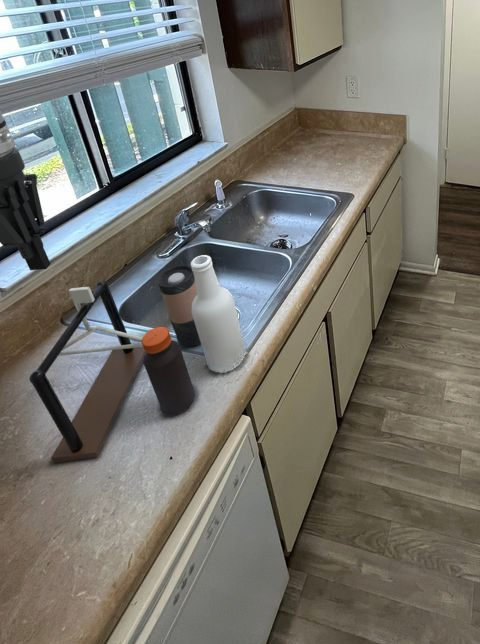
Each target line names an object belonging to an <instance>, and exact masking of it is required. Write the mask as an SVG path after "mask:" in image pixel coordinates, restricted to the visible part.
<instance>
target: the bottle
mask: <svg viewBox="0 0 480 644" xmlns="http://www.w3.org/2000/svg"><path fill="white" fill-rule="evenodd" d="M142 337H143V338H142V341H140V343H142V345H143V348H144V350H145V352H146V353H145V356H144V358H143V363H142V365H143V366H144V368H145V371H146V373H147V376H148V378H149V381H150V385H151V387H152V389H153V392H154V394H155V397H156V400H157V401H158V404H159V407H160V409H161V412H162V413H164V414H165V415H166V416H178V415H179V414H182V413H184V412H185V411H187V410H188V409H189V408H190V407H191V406H192V404H193V403H194V402H195V399H196V391H195V388H194V384H193V382H192V380H191V376H190V372H189V369H188V367H187V364H186V361H185V357H184V355H183V352H182V348H181V345H180V344H179V342H177V341H175V340H172V336H171V333H170V330H169V328H167V327H166V326H157V327H154V328H152V329H150V330H148V331H146V332H145V334H144V335H143V336H142Z"/></svg>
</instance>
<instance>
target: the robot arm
mask: <svg viewBox="0 0 480 644" xmlns="http://www.w3.org/2000/svg"><path fill="white" fill-rule="evenodd" d="M15 146H16V142H15V140H14V138H13V136H12V133H11V131H10V129H9V127H8V124H7V122H6V118H4V115H3V113H2V111H1V110H0V244H1V246H2V247H4V248H13V247H14V248H17V250H18V252H19V254H20V256H21V258H22V259H24V260H25V263H26V265H27V268H28V269H29V270H30V271H40V270H47V269H48V268H49V267H50V265H51V261H50V259H49V257H48V255H47V252H46V250H45V248H44V243H43V240H42V238H41V235H43V234H44V233H45V228H41V227H43V226H44V225H45V224H46V222H45V217H44V213H43V208H42V204H41V200H40V196H39V195H40V194H39V190H38V187H37V186H38V176H37V173H24V170H25V166H26V165H25V161H24V159H23V158H22V155H21V152H20V151H19V149H18V148H16V147H15Z"/></svg>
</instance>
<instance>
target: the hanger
mask: <svg viewBox="0 0 480 644" xmlns="http://www.w3.org/2000/svg"><path fill="white" fill-rule="evenodd" d="M92 292H93V291H92V290H91V288H90V286H82V287H81V286H80V287H71V288H70V289H69V290H68V293H69V295H70V297H71V299H72V301H73V304H74V306H75V309H76V311H77V313H78V312H79V310H80V309H81V308H82V305H81V304H84V303H91V302H94V300H95V299H94V297H93V294H92ZM81 323H82V324H83V326H84V328H85V330H86V331H85V332H83V333H81V334H80V335H79V336H77V337H75V338H74V339H72V340H69V341H68V342H67V344H66V345H65V347H64V348H63V350H62V351H61V352H60V354H59V355H58V357H61V356H63V357H64V356H71V355H80V354H90V353H91V354H92V353H99V352H100V353H101V352H108V351H112V350H118V349H127V348H137V347H143V345H142V342H141V341H142V338H143V336H139V335H135V334H132V333H128V332H127V333H123V332H120V331H116V330H114V329H111V328H107V327H103V326H99V325H91V324H90V322H89V321H88V319H87V316H85V318H84V319H83V321H82V322H81ZM95 331H99V332H103V333H106V334H110V335H115V336H117V335H118V336H122V337H126V338H129V339H131V340H135V341H139V343H131V344H129V345H112V346H101V347H94V348H84V349H75V350H74V349H73V350H66V349H67V348H69V347H71V346H72V345H74V344H76V343H77V342H79V341H81V340H82V339H85V337H87V336H90V334H92V333H94V332H95Z"/></svg>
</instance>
